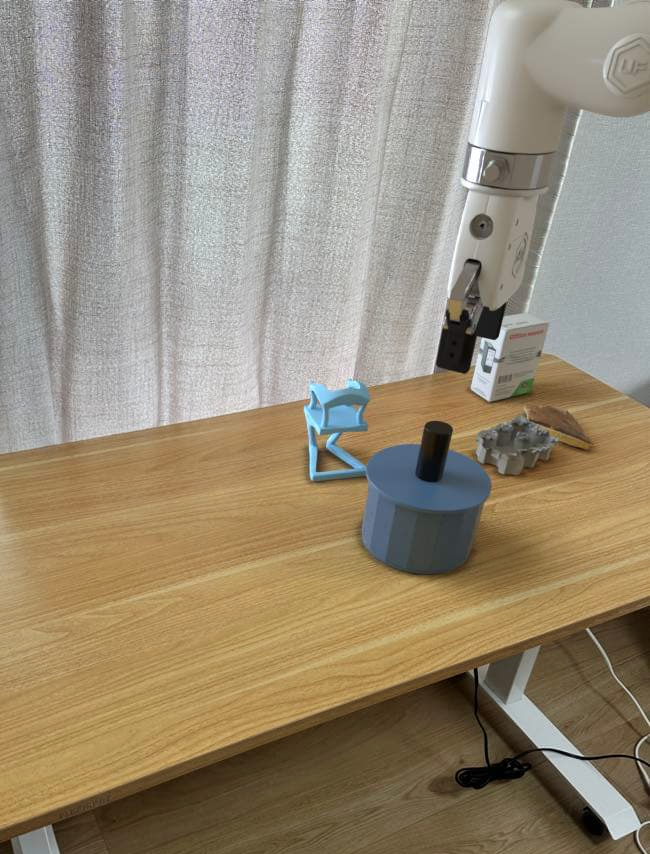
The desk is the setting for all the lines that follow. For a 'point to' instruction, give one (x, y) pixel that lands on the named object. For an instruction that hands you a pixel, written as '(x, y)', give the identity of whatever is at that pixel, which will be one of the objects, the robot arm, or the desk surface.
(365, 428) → the chair
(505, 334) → the ink box
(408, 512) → the tin
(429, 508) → the tin lid
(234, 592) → the desk surface
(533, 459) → the egg carton
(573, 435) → the shard
